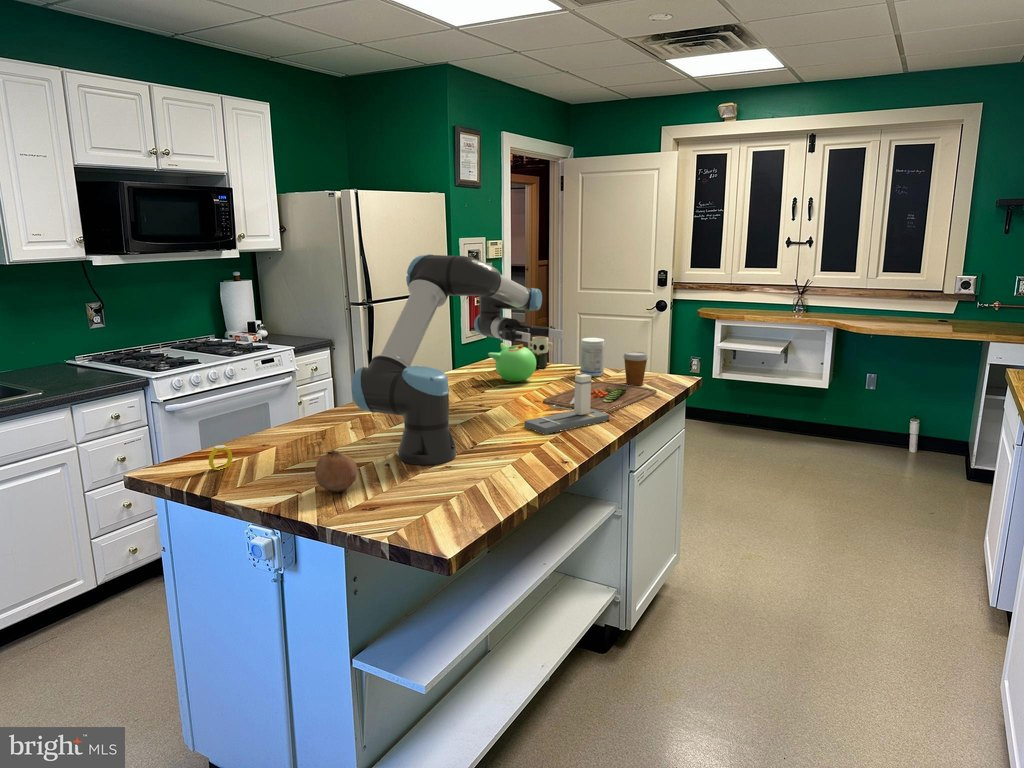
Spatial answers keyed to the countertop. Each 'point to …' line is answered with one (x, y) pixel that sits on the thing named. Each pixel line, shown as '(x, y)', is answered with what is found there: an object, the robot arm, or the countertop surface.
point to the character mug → (540, 350)
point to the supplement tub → (592, 356)
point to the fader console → (564, 421)
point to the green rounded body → (514, 362)
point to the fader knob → (582, 394)
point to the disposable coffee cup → (635, 367)
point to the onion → (336, 471)
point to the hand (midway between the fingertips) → (546, 336)
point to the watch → (216, 449)
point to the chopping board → (603, 396)
